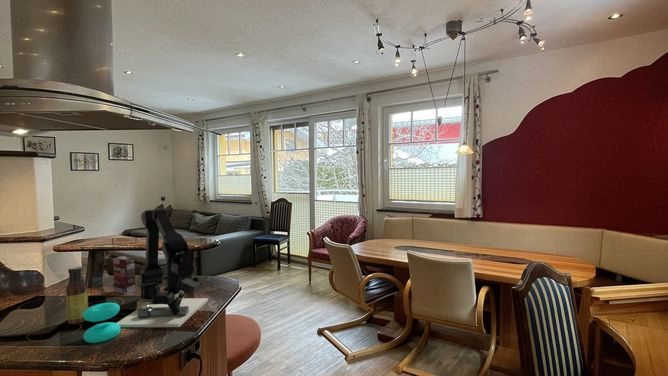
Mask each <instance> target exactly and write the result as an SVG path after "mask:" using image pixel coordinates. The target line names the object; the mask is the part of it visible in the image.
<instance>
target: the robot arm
mask: <svg viewBox="0 0 668 376" xmlns="http://www.w3.org/2000/svg"><path fill="white" fill-rule="evenodd" d="M140 218H141V219H140V220H141V223H142V225H143V227H144V228H145V229H146V240H145V241H146V244H145V263H144V264H143V265H142V267H141V268H140V274H139V276H138V278H137V282H136V283H137V287H138V288H140V296H141V297H140V299H139V300H141V299H152V304H167V305H168V306H169V308H170V309H171V311H172V313H173V315H177V313H178V310H179V307H180V304H181V301H182V299H183V298H185V296H187V295H194V294H195V293H197V292H198V289H199V287H200V286H201V278H200V276H195V277H193V278H190V277H191V276H192V275H193V273H194V271H195V266H194V263H192V262H191V261H189V258H190V257H191V249H190V247H189V244H188V243H187V240H186V239H185V237H183V235H182V234H181V233H179V232H177V231H176V229H175V227H174V225H173V222H172V221H171V219H170V217H169V211H168V210H167V209H165V208H164V209H163V208H161V209H159V208H157V209H145V210H144V211H143V212H142V213H141V214H140ZM160 234H161V237H162V239H163V240H162V244H161V249H162V253H163V255H164V257H165V260H166V261H165V262H166V263H165V264H166V275H164V271H163V269H162V267H161V266H160V264H159V249H160V248H159V247H160V245H159V244H160V243H159V242H160ZM163 280H165V281H166V283H165V284H166V287H164V288H163V291H164V292H163V291H161V287H160V285H162V284H163V282H164V281H163Z"/></svg>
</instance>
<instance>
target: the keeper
mask: <svg viewBox="0 0 668 376" xmlns="http://www.w3.org/2000/svg"><path fill="white" fill-rule="evenodd" d="M140 299H141V298H140ZM140 299H138V300H137V301H136V310H137V312H138V310H139V309H141V308H142V305H145V304H149V305H155V304H152V299H141V300H140Z"/></svg>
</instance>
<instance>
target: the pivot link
mask: <svg viewBox="0 0 668 376" xmlns="http://www.w3.org/2000/svg"><path fill="white" fill-rule="evenodd" d="M188 313H189V306H181V307H179V310H178V313H177V315H173V313H172V311H171V309H170V308H169V307H156V308H153V307H149V304H145V305H142V308H141V309H139V310H138V318H140V319H144V318H149V317H167V316H186V315H187V314H188Z"/></svg>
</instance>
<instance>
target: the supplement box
mask: <svg viewBox="0 0 668 376" xmlns="http://www.w3.org/2000/svg"><path fill="white" fill-rule="evenodd" d="M135 260H136V259H135V257H131V256H118V257H114V258H112V265H113V266H112V268H113V270H112V271H113V273H112V274H113V292H114V293H119V294H124V295H127V294H130V293H134V292H136V265H135V264H136V261H135Z"/></svg>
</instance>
